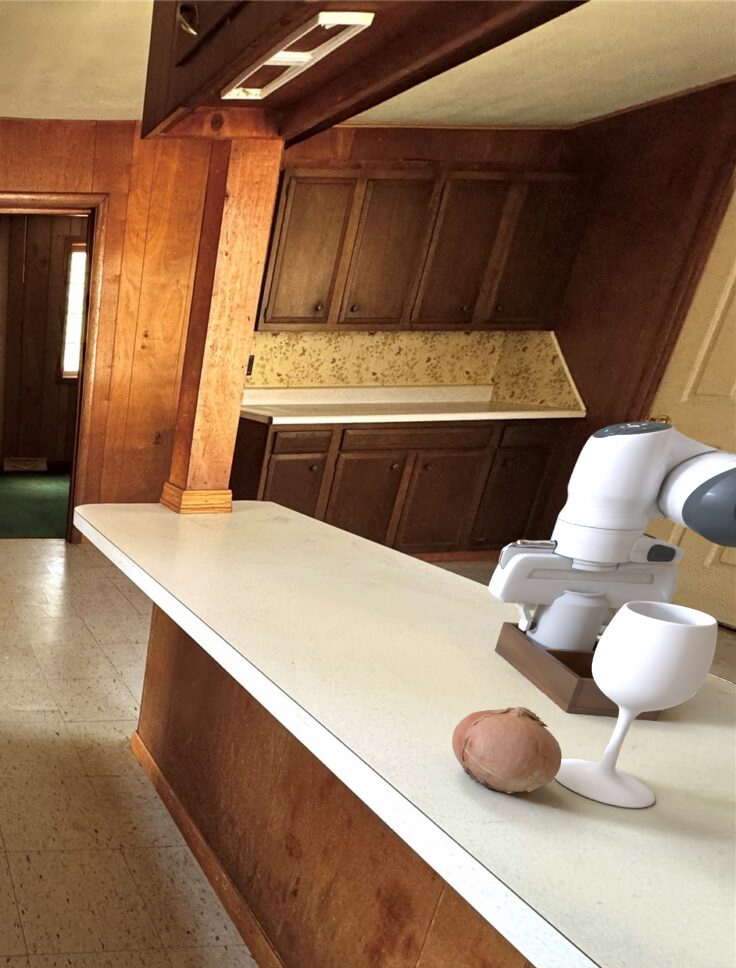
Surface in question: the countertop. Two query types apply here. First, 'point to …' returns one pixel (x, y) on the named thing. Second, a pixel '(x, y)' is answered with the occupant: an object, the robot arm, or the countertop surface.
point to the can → (570, 621)
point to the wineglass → (642, 686)
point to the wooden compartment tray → (559, 674)
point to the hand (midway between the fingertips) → (562, 632)
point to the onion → (507, 749)
